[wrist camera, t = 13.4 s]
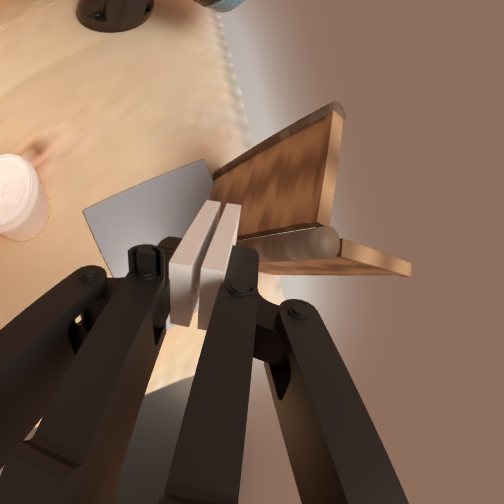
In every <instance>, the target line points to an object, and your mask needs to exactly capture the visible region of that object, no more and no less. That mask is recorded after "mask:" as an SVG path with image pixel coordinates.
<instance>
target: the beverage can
mask: <svg viewBox="0 0 504 504" xmlns="http://www.w3.org/2000/svg"><path fill="white" fill-rule="evenodd" d="M48 215H49V200H48V197H47V194H46V192H45V190H44V188H43V186H42V184H41V181H40V179H39V177H38V175H37V172H36V170H35V168H34V167H33V165H32V164H31V163H30V162H29V161H28V160H27V159H26V158H24V157H22V156H20V155H16V154H3V155H0V235H3V236H5V237H7V238H10V239H12V240H15V241H27V240H30V239H32V238H34V237H35V236H37V235H38V234H39V233H40V232H41V230H42V229H43V228H44V226H45V224H46V222H47V219H48Z"/></svg>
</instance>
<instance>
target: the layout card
mask: <svg viewBox="0 0 504 504" xmlns="http://www.w3.org/2000/svg"><path fill="white" fill-rule="evenodd" d="M213 187H214V181H213V179H212V177H211V175H210V172H209V170H208V168H207V166H206V164H205V161H204V159H202V160H199V161H197V162H194V163H191V164H189V165H186V166H183V167H181V168H178V169H176V170H173V171H171V172H168V173H166V174H163V175H161V176H158V177H156V178H153V179H151V180H149V181H146V182H144V183H142V184H139V185H137V186H135V187H132V188H130V189H128V190H126V191H123V192H121V193H119V194H117V195H115V196H113V197H110V198H108V199H106V200H104V201H102V202H100V203H98V204H96V205H94V206H92V207H90V208H88V209H86V210H84V211H83V213H84V215H85V218H86V220H87V222H88V225H89V227H90V229H91V231H92V234H93V236H94V238H95V240H96V242H97V245H98V247H99V249H100V251H101V253H102V255H103V257H104V259H105V261H106V263H107V265H108V267H109V269H110V271H111V273H112V275H113V277H114V278H120V277H125V276H126V275H127V273H128V272H129V265H128V250H129V249H130V248H131V247H134V246H136V245H141V244H152V245H156V246H157V245H158V244H159V242H160V241H161V240H163V239H164V238H166V237H168V236H172V237H178V238H183V237H184V236H185V234H186V233H187V231H188V229H189V228H190V226H191V224H192V223H193V221H194V219H195V218H196V216H197V215H198V213H199V211H200V210H201V208H202V207H203V205H204V203H205V202H206V200H209V199H210V196H211V193H212V190H213ZM238 241H241V240H238ZM198 310H199V298H198V301H197V304H196V307H195V310H194V313H195V312H196V311H198ZM174 325H176V324H171V323H170V314H169V316H168V318H167V321H166V331H167V330H168V329H170V328H171V327H173V326H174Z"/></svg>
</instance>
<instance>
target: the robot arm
mask: <svg viewBox="0 0 504 504" xmlns="http://www.w3.org/2000/svg"><path fill="white" fill-rule="evenodd" d="M193 1H195V2H197V3H199V4H201V5H202V6H203V7H208V8H211V9H213V10H215V11H217V12H222V13H224V12H228V11H231V10H232V9H234V8H235V7H237V6H238V5H240V4H241V3H242V2H243V1H244V0H193ZM154 2H155V0H79V3H78V7H77V18H78V20H79V21H80V22H81V23H82V24H83V25H84V26H86V27H87V28H90V29H92V30H96V31H100V32H121V31H126V30H130V29H133V28H135V27H138V26H140V25H141V24H143V23H144V22H145V21H146V20H147V19H148V18H149V16H150V14H151V12H152V10H153V8H154ZM220 204H221V202H216V201H209V200H206V202H205V203H204V205H203V207H202V208H201V210H200V211H199V213H198V215H197V216H196V218H195V219H194V221H193V223H192V224H191V226H190V228H189V229H188V231H187V233H186V234H185V236H184V237H183V238H178V237H172V236H168V237H166V238H164V239H163V240H161V241H160V242H159V244H158V245H157V246H156V245H152V244H141V245H136V246H134V247H131V248H130V249H129V250H128V265H129V272H128V273H127V275H126V276H125V277H120V278H107V273H106V271H105V269H103V268H102V267H99V266H95V265H92V266H91V265H89V266H85V267H81V268H80V269H78V270H76V271H75V272H73V273H72V274H70V275H69V276H68V277H66V278H65V279H64V280H62V281H61V282H60V283H58V284H57V285H56V286H54V287H53V288H52V289H50V290H49V291H48V292H46V293H45V294H44V295H43V296H41V297H40V298H39V299H37V300H36V301H35V302H34V303H32V304H31V305H30V306H29V307H27V308H26V309H25V310H24V311H22V312H21V313H20V314H19V315H18V316H16V317H15V318H14V319H13V320H12V321H10V322H9V323H8V324H7V325H6V326H5V327H3V328H2V329H1V330H0V469H1V468H2V467H3V466H4V465H5V466H4V468H3V471H2V473H1V476H0V504H117V499H116V490H117V486H118V482H119V478H120V474H121V471H122V467H123V464H124V460H125V456H126V453H127V450H128V446H129V443H130V440H131V436H132V433H133V430H134V426H135V423H136V420H137V417H138V414H139V410H140V407H141V404H142V401H143V398H144V395H145V392H146V389H147V386H148V383H149V380H150V377H151V374H152V371H153V368H154V365H155V362H156V359H157V357H158V354H159V351H160V348H161V345H162V342H163V340H164V337H165V334H166V321H167V318H168V316H169V314H170V323H171V324H176V325H181V326H186V327H189V325H190V322H191V319H192V316H193V313H194V310H195V307H196V304H197V301H198V298H199V310H198V329H202V330H207V332H206V336H205V339H204V343H203V346H202V350H201V354H200V357H199V361H198V364H197V368H196V372H195V376H194V379H193V383H192V387H191V390H190V394H189V398H188V402H187V405H186V409H185V413H184V417H183V421H182V425H181V429H180V432H179V437H178V441H177V444H176V449H175V452H174V456H173V460H172V464H171V468H170V472H169V477H168V481H167V484H166V488H165V491H164V493H163V494H162V496H161V497H160V499H159V502H158V504H238V496H239V488H240V478H241V469H242V460H243V450H244V441H245V431H246V422H247V411H248V402H249V392H250V381H251V371H252V361H253V357H254V358H256V359H259V360H262V361H264V367H265V370H266V374H267V378H268V382H269V385H270V389H271V393H272V397H273V401H274V405H275V408H276V412H277V416H278V420H279V423H280V427H281V431H282V434H283V438H284V441H285V445H286V449H287V453H288V456H289V460H290V463H291V467H292V471H293V474H294V477H295V481H296V485H297V488H298V492H299V496H300V499H301V502H302V504H409V503H408V500H407V498H406V496H405V493H404V491H403V489H402V486H401V484H400V482H399V479H398V477H397V475H396V473H395V470H394V468H393V466H392V464H391V461H390V459H389V457H388V455H387V452H386V450H385V448H384V446H383V444H382V442H381V439H380V437H379V435H378V433H377V431H376V429H375V426H374V424H373V422H372V420H371V418H370V416H369V414H368V412H367V410H366V407H365V405H364V403H363V401H362V399H361V397H360V395H359V393H358V391H357V389H356V387H355V385H354V383H353V381H352V378H351V376H350V374H349V372H348V370H347V368H346V366H345V364H344V362H343V360H342V358H341V356H340V354H339V352H338V350H337V348H336V347H335V344H334V342H333V341H332V338H331V336H330V334H329V332H328V330H327V328H326V327H325V325H324V322H323V321H322V319H321V317H320V315H319V313H318V311H317V310H316V309H315V307H314V306H312V305H311V304H309V303H308V302H305V301H302V300H297V299H289V300H285V301H284V302H282V303H281V304H280V306H278V305H276V304H273V303H271V302H269V301H267V300H265V299H264V298H263V297H262V296H261V295H260V294H259V292H258V288H257V286H258V270H259V254H258V252H257V251H256V249H254V248H248V247H241V246H236V239H237V232H238V225H239V218H240V211H241V205H236V204H229V203H227V204H226V207H225V209H224V212H223V214H222V216H221V219H220V221H219V212H220ZM218 221H219V224H218ZM79 315H80V316H81V321H80V322H78V323H77V324H76V322H75V319H76V318H77V317H78V316H79ZM42 417H43V418H42ZM41 418H42V420H41V422H40V424H39V426H38V428H37V431H36V433H35V435H34V436H33V438H31V439H30V440H27V441H23V440H24V439H25V438H26V437H27V435H28V434H29V433H30V431H31V430H32V429H33V428H34V427H35V425H36V424H37V423H38V422H39V421H40V419H41Z"/></svg>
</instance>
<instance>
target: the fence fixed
mask: <svg viewBox="0 0 504 504" xmlns="http://www.w3.org/2000/svg"><path fill="white" fill-rule="evenodd" d="M345 116H346V115H345V111H344V109H343V107H342V106H341V104H339V103H338V102H336V101H333V102H332V103H330V104H328V105H326V106H324V107H322V108H320V109H319V110H316V111H315V112H313V113H311V114H309V115H307V116H305V117H304V118H302V119H300V120H298V121H297V122H295V123H293V124H292V125H290V126H288V127H286V128H284V129H283V130H281V131H279V132H278V133H276V134H274V135H273V136H271V137H269V138H268V139H266V140H264V141H263V142H261V143H259V144H258V145H256V146H254V147H253V148H251V149H250V150H248V151H246V152H245V153H243V154H242V155H240V156H238V157H237V158H235V159H234V160H232V161H231V162H229V163H228V164H226V165H225V166H223V167H222V168H220V169H219V170H217V171H216V172H214V174H213V178H214V180H215V181H214V187H213V190H212V193H211V196H210V199H209V201H216V202H221V204H220V212H219V221H220V219H221V216H222V214H223V212H224V209H225V207H226V204H227V203H229V204H236V205H241V211H240V218H239V225H238V232H237V239H236V246H241V247H248V248H254V249H256V251H257V252H258V254H259V263H261V262H282V261H303V260H323V259H333V258H335V257H336V256H337V254H338V252H339V249H340V239H339V236H338V233H337V232H336V230H335V229H334V228H332V227H330V226H329V224H330V218H331V211H332V205H333V199H334V192H335V185H336V177H337V169H338V162H339V153H340V144H341V135H342V125H343V120H344V119H345ZM219 221H218V224H219ZM312 227H316V228H312ZM307 228H312V229H307ZM301 229H306V230H301ZM295 230H300V231H295ZM289 231H294V232H289ZM283 232H288V233H283ZM278 233H282V234H278ZM272 234H276V235H272ZM266 235H271V236H266ZM260 236H265V237H260ZM255 237H259V238H255ZM249 238H253V239H249ZM243 239H247V240H243ZM238 240H242V241H238Z"/></svg>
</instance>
